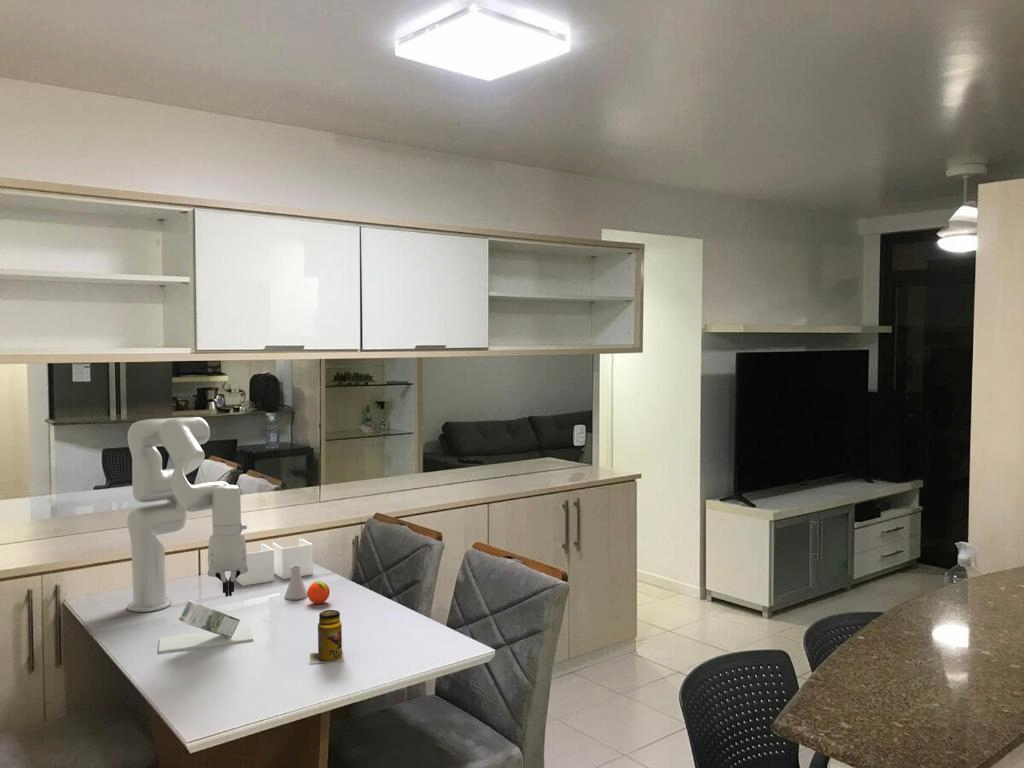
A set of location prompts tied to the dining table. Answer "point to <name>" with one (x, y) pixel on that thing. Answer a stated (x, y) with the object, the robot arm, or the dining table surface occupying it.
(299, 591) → the flask
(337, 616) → the condiment
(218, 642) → the mat
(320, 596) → the clementine
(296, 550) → the white double bin
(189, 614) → the syrup box
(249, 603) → the dining table surface
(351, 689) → the dining table surface
